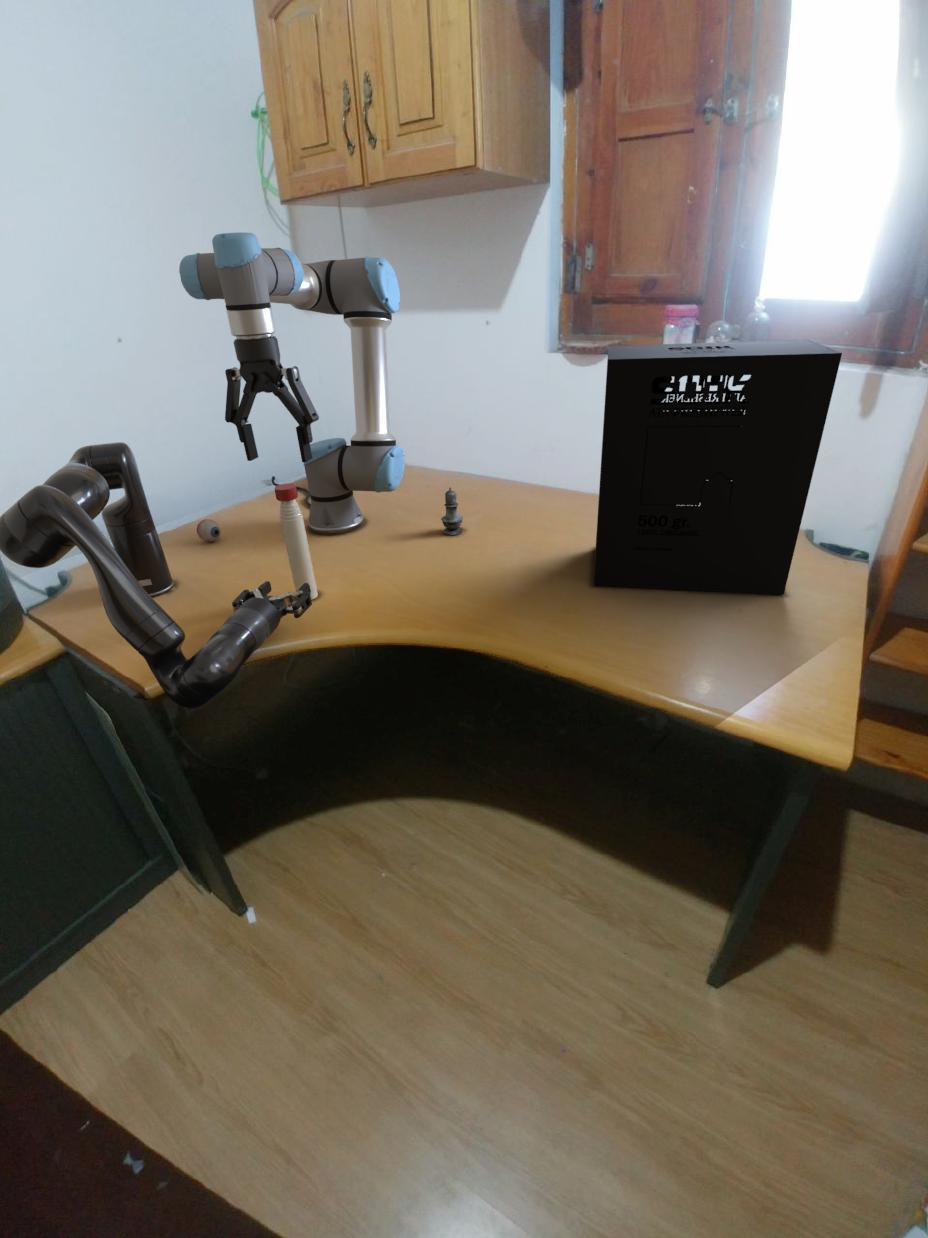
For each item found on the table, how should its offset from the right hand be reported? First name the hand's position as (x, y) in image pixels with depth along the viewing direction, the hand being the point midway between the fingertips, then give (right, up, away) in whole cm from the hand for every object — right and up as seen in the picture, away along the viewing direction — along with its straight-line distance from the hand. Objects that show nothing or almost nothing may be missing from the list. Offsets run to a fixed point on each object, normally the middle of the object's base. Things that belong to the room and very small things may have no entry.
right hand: (279, 459), depth 117 cm
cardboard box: (+84, -20, +17) cm, 88 cm away
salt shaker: (+33, -8, +43) cm, 55 cm away
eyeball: (-32, -10, +46) cm, 57 cm away
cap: (0, -5, +3) cm, 6 cm away
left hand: (0, -24, +6) cm, 25 cm away
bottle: (+2, -26, +15) cm, 30 cm away
